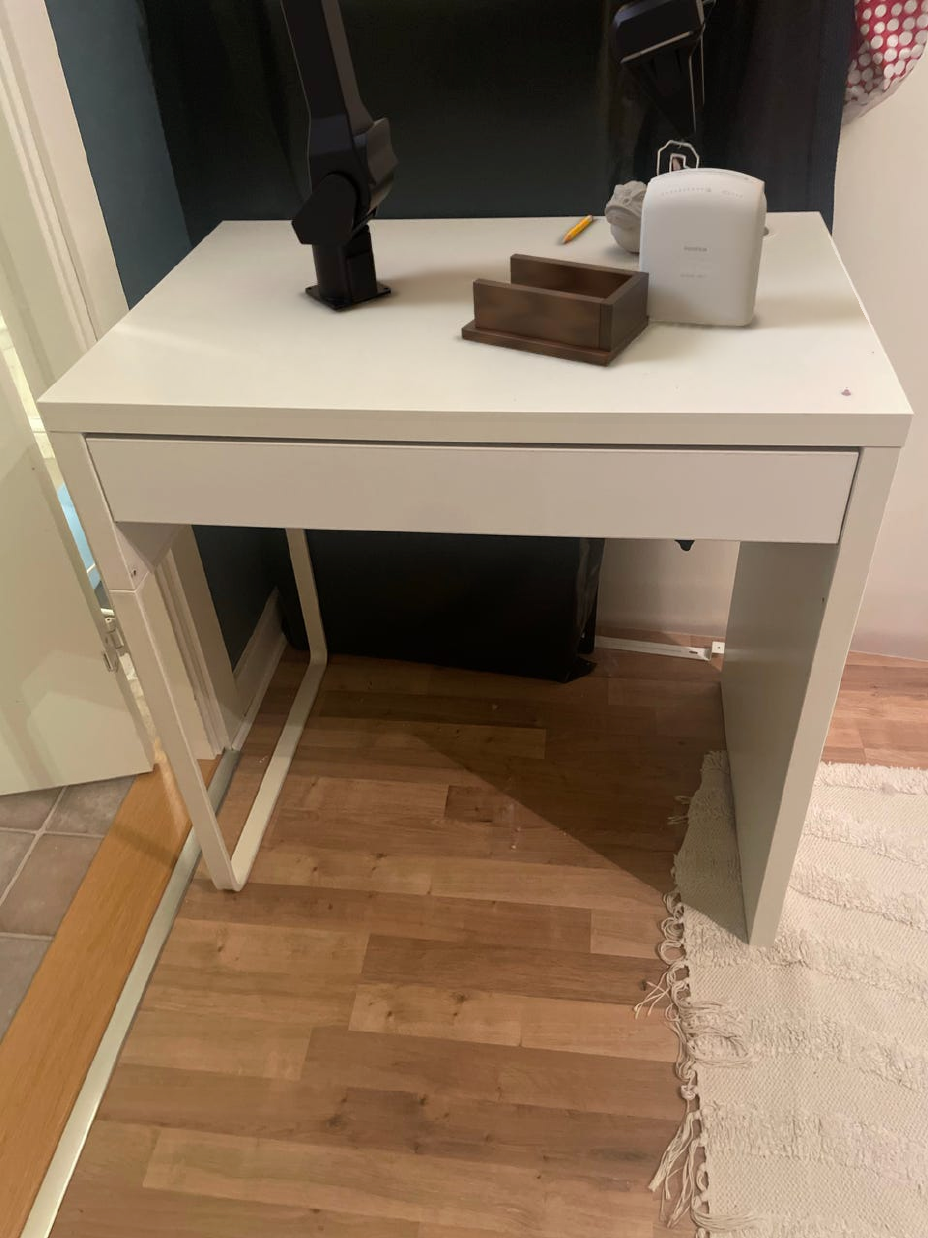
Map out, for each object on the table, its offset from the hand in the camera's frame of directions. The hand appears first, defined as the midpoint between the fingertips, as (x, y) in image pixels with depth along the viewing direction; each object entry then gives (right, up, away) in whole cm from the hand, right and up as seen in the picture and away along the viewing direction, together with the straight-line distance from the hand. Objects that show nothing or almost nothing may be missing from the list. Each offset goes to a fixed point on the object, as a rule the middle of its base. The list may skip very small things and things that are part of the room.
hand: (693, 121), depth 77 cm
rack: (-10, -15, +8) cm, 20 cm away
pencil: (-6, +2, +28) cm, 29 cm away
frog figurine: (-1, -2, +22) cm, 22 cm away
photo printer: (+2, -13, +8) cm, 16 cm away
